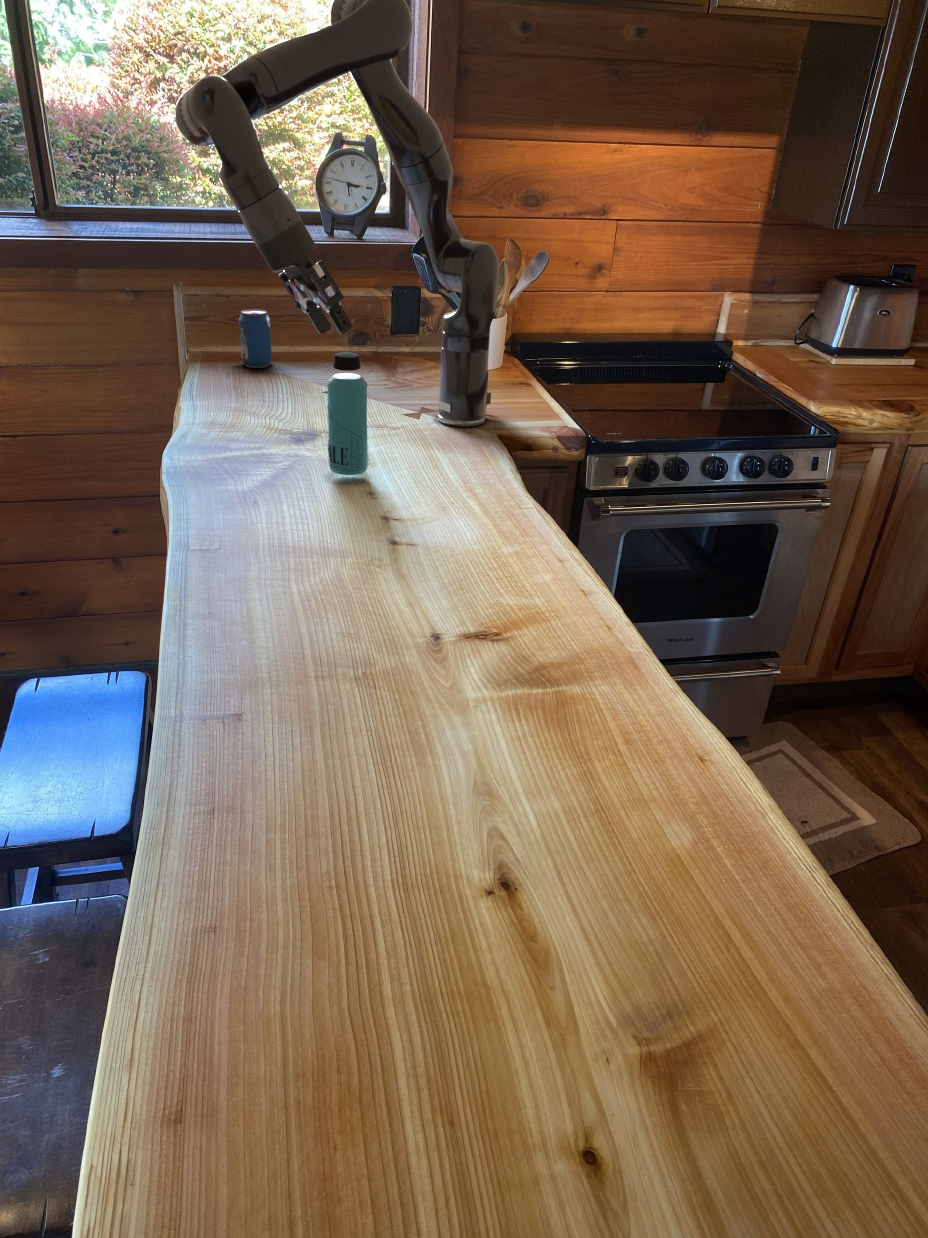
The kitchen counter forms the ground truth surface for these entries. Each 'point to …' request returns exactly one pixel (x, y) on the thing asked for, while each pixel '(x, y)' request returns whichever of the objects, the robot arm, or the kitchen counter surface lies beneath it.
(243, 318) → the soda can
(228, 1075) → the kitchen counter surface
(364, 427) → the beverage bottle
